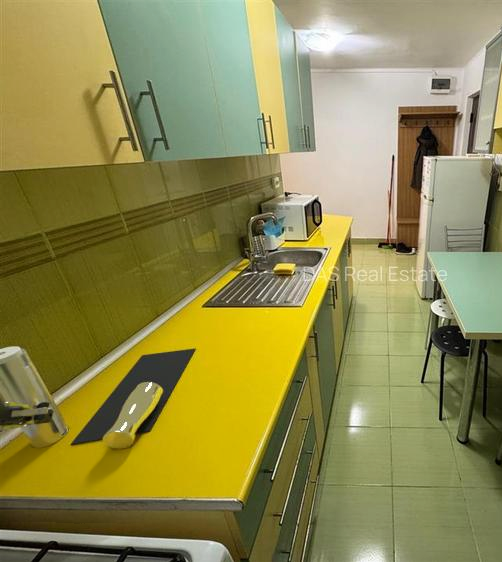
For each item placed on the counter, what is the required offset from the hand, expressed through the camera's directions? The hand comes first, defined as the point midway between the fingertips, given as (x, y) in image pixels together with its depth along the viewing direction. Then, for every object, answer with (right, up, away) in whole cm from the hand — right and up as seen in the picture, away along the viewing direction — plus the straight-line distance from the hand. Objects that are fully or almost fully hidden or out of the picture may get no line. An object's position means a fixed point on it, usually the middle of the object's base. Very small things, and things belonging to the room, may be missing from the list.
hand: (47, 416), depth 55 cm
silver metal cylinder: (-21, -14, +20) cm, 32 cm away
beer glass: (0, -13, +15) cm, 20 cm away
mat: (-9, -7, +36) cm, 38 cm away
